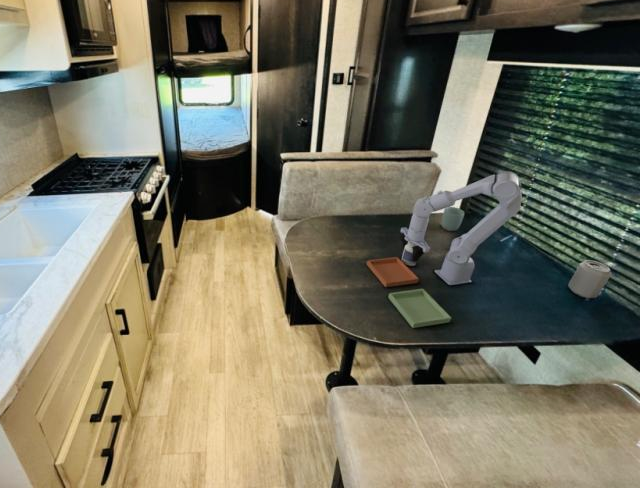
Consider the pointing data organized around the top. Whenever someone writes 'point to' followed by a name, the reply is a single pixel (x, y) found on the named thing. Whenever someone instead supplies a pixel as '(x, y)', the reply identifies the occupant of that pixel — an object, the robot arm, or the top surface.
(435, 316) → the sage tray
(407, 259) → the pill bottle
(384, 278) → the terracotta tray
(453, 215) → the cup
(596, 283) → the beige cylinder
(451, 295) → the top surface
